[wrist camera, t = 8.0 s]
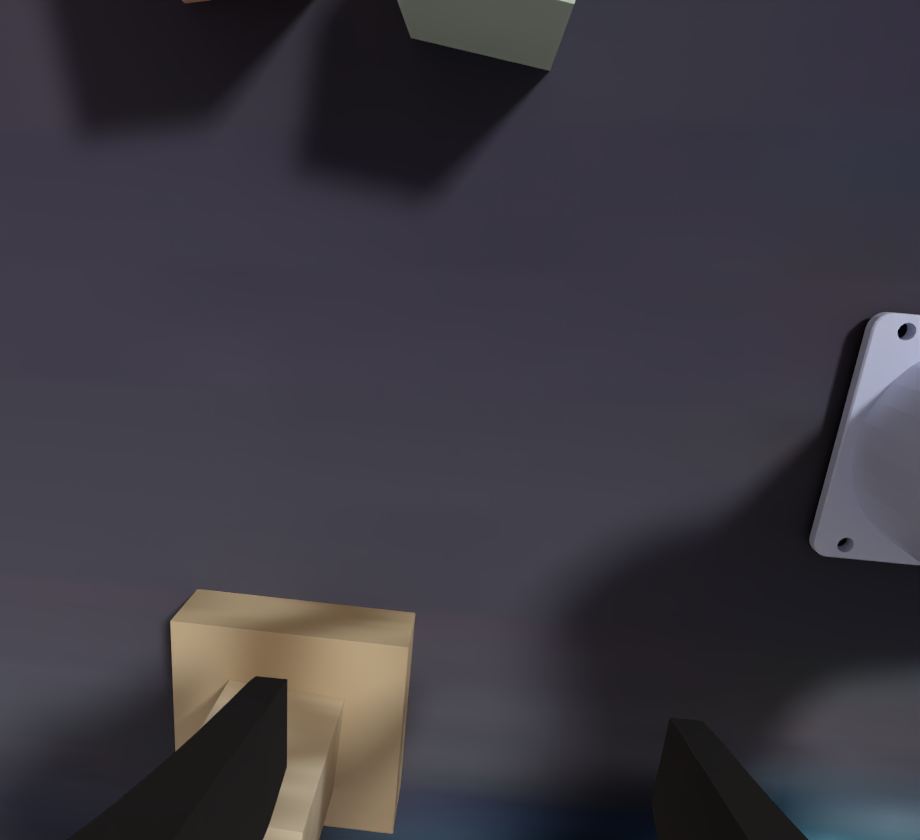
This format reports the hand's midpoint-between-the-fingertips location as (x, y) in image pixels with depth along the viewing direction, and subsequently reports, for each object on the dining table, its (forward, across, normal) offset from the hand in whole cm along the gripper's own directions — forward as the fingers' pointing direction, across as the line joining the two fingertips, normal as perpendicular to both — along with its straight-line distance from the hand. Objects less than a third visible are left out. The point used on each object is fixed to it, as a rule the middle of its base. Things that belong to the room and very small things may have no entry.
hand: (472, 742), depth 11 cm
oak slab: (+10, +6, +8) cm, 14 cm away
